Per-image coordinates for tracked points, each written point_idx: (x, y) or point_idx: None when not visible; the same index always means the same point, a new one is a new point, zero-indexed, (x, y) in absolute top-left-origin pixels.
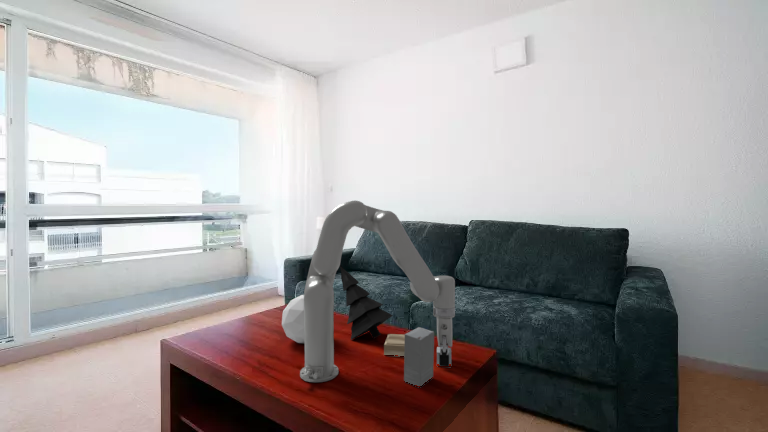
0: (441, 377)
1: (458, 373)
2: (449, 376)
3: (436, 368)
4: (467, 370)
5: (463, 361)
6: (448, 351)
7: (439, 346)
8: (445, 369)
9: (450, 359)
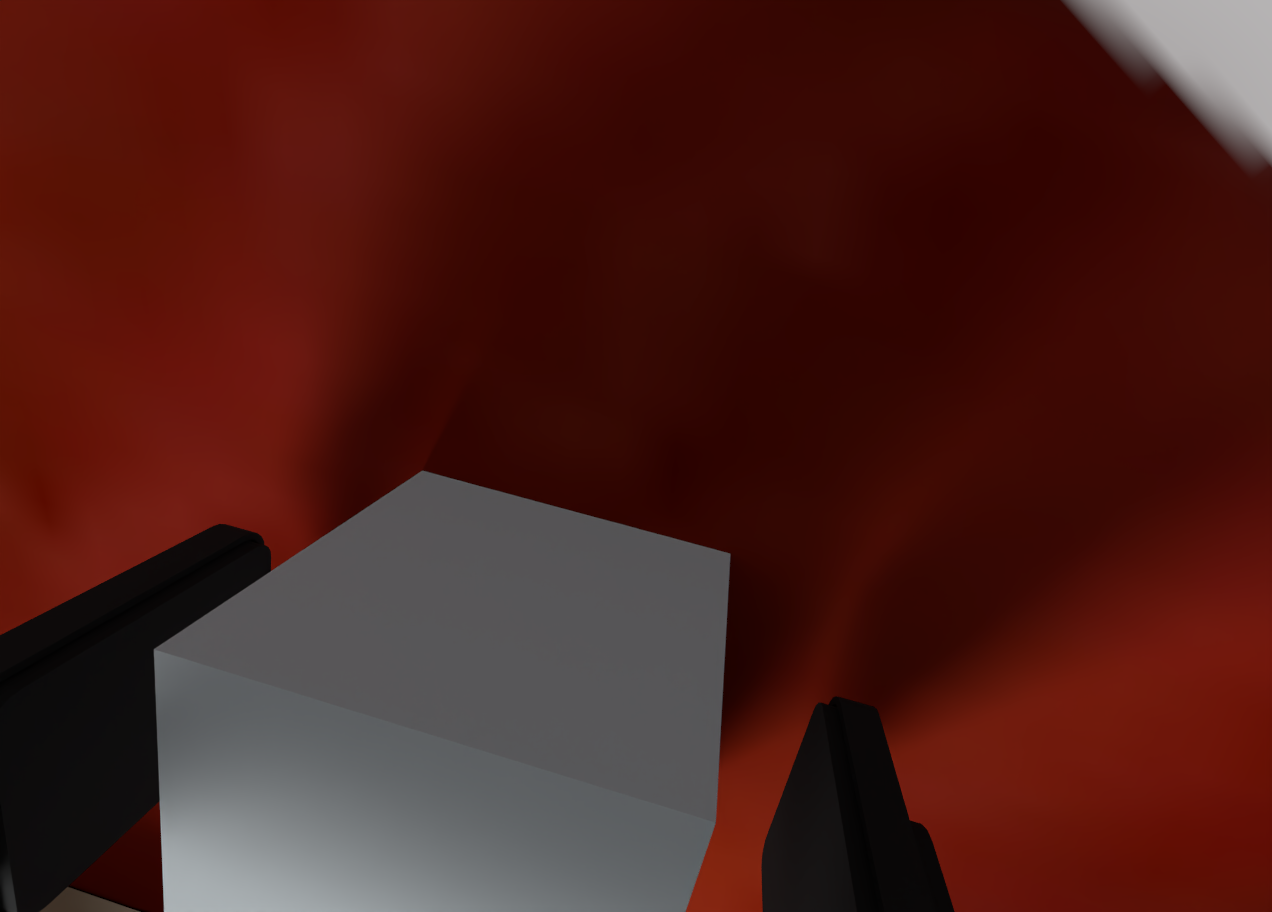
0: (1173, 876)
1: (1089, 497)
2: (1181, 728)
3: (747, 830)
4: (974, 210)
5: (420, 161)
6: (531, 856)
7: (60, 872)
8: (818, 697)
9: (715, 680)
